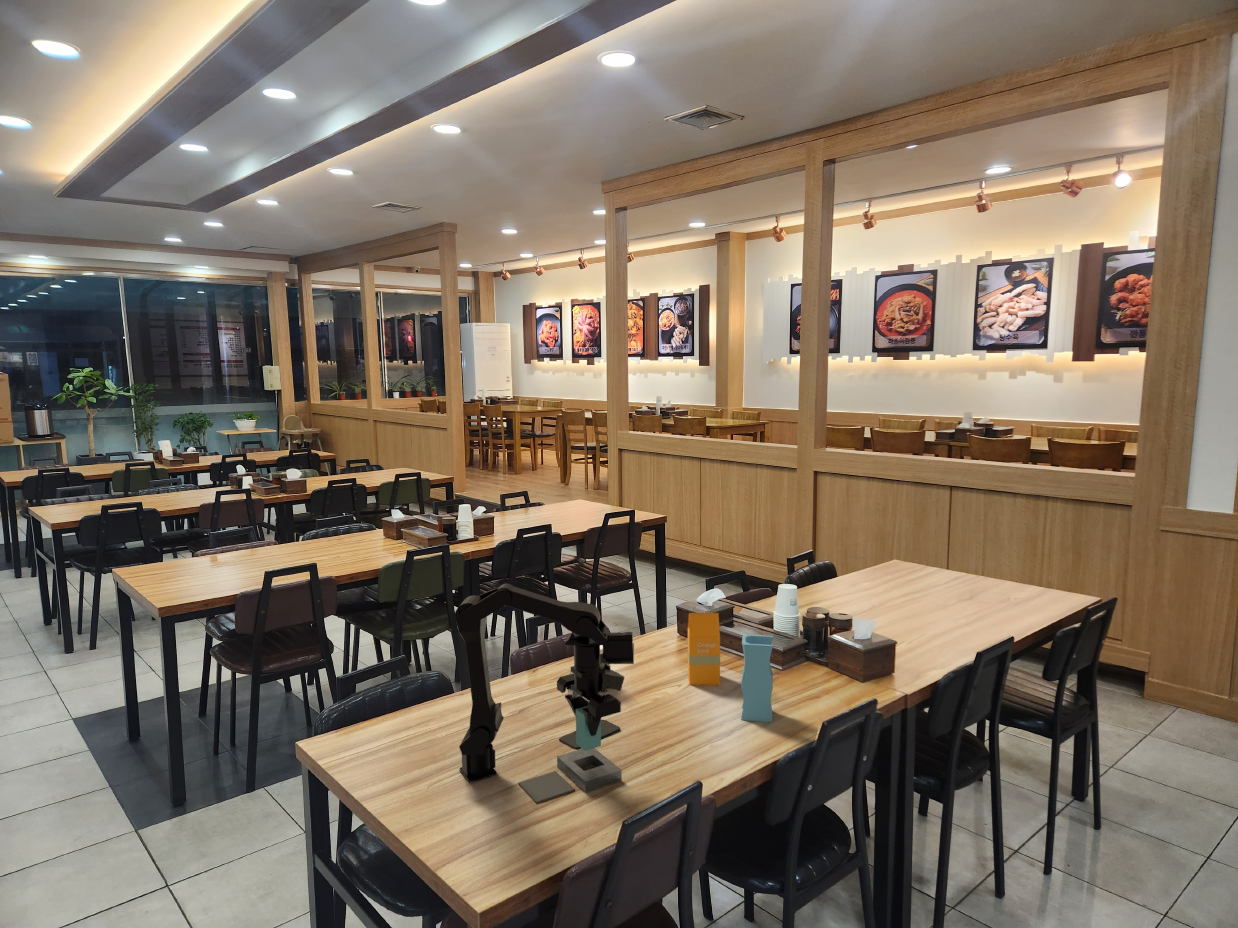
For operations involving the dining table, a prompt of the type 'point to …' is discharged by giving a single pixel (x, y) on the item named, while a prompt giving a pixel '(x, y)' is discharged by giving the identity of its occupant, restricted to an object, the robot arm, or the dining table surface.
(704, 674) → the orange juice
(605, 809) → the dining table surface
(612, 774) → the gray rectangular frame
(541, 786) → the dark gray square pad
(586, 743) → the teal square block
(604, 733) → the smartphone
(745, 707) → the vase
